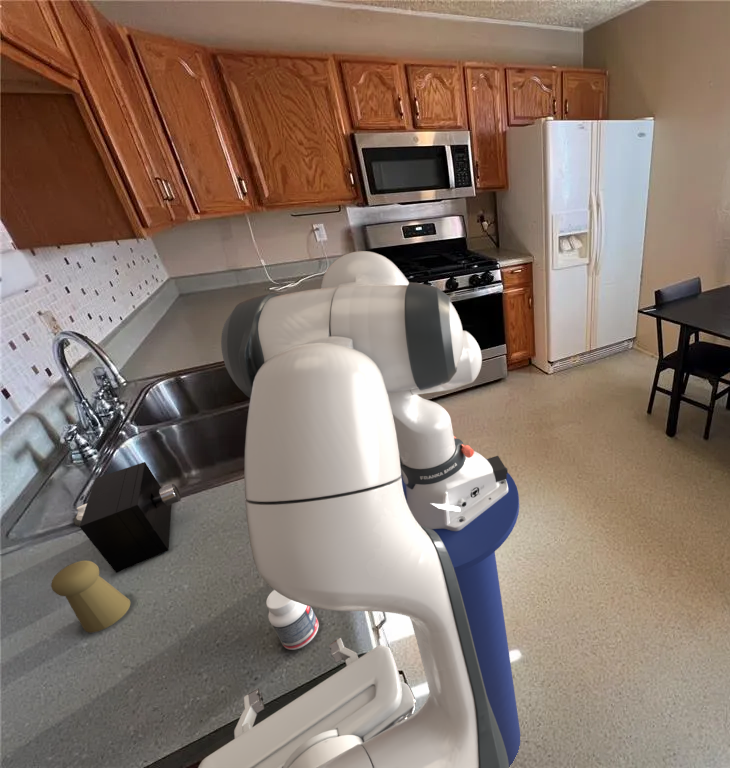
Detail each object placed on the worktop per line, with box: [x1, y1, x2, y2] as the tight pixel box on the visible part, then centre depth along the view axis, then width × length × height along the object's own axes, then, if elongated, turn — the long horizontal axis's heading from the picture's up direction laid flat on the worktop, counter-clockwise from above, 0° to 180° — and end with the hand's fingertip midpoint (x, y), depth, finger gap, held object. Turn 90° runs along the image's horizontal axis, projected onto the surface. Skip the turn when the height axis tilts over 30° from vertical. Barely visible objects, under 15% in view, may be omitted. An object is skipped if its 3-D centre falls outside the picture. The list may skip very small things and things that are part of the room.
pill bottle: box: [265, 589, 320, 651], centre depth 61 cm, size 5×5×9 cm
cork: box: [50, 560, 131, 634], centre depth 66 cm, size 6×6×11 cm
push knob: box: [150, 483, 182, 506], centre depth 83 cm, size 5×4×4 cm
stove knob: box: [73, 503, 87, 527], centre depth 90 cm, size 7×7×3 cm
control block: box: [78, 461, 173, 574], centre depth 81 cm, size 8×16×12 cm, turn 35°
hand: (296, 668), depth 50 cm, fingers open, 8 cm apart
